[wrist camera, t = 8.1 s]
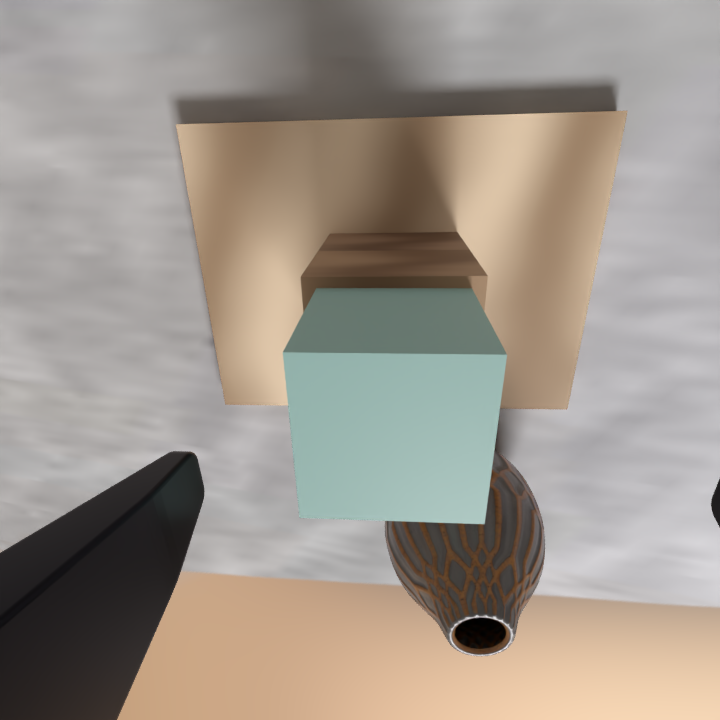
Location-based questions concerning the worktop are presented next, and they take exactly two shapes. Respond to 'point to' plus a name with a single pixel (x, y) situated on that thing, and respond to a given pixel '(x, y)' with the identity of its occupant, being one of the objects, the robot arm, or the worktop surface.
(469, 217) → the beech board
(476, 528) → the vase
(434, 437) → the cube
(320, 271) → the tower top
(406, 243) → the tower base
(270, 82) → the worktop surface
